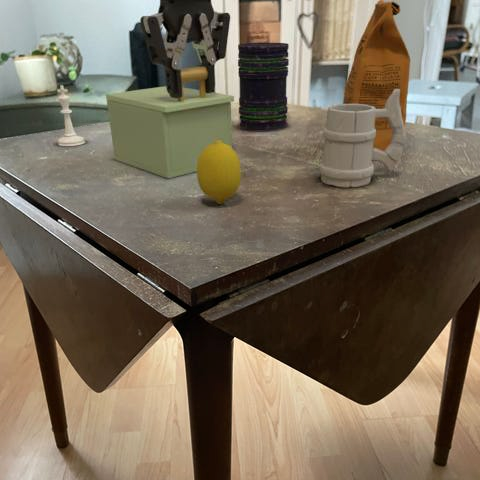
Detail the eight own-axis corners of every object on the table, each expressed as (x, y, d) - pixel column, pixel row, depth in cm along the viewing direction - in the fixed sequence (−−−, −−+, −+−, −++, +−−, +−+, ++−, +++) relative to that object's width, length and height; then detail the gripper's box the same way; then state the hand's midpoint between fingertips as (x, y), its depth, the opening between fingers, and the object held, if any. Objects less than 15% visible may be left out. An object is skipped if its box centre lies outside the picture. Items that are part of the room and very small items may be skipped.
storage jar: (251, 120, 116) (251, 42, 109) (294, 123, 112) (296, 42, 105) (230, 129, 109) (228, 46, 101) (275, 132, 105) (277, 47, 97)
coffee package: (393, 143, 96) (411, -1, 85) (403, 161, 85) (425, 0, 74) (337, 142, 97) (347, 0, 86) (340, 160, 87) (352, 1, 75)
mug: (313, 173, 80) (317, 87, 74) (390, 170, 81) (401, 84, 75) (324, 189, 74) (330, 95, 68) (408, 185, 75) (422, 92, 69)
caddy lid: (234, 101, 82) (233, 65, 79) (165, 112, 75) (162, 73, 72) (171, 90, 92) (169, 58, 90) (106, 99, 85) (101, 64, 83)
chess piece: (63, 140, 103) (52, 83, 98) (88, 140, 103) (79, 83, 98) (54, 146, 99) (43, 87, 94) (80, 146, 99) (71, 87, 93)
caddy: (232, 162, 87) (231, 101, 82) (168, 178, 80) (162, 112, 75) (176, 146, 97) (171, 90, 92) (114, 159, 90) (106, 100, 85)
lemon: (190, 203, 70) (186, 140, 66) (223, 194, 73) (221, 133, 69) (216, 214, 66) (213, 148, 62) (250, 204, 69) (249, 140, 65)
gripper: (208, -43, 77) (213, 87, 85) (120, -45, 69) (135, 98, 77) (243, -46, 72) (245, 92, 80) (152, -49, 64) (165, 104, 72)
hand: (191, 94), depth 79 cm, fingers closed on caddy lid, 5 cm apart
